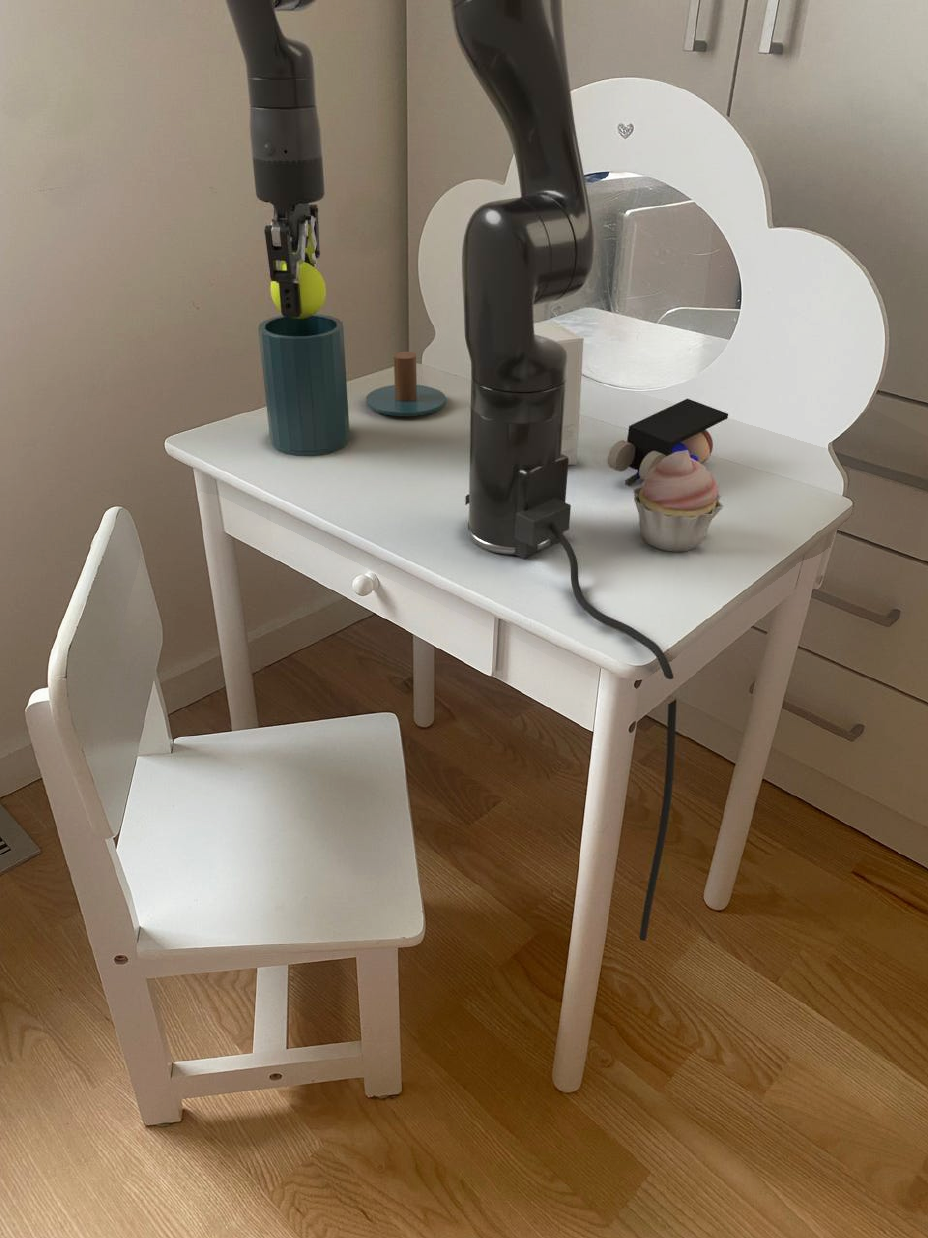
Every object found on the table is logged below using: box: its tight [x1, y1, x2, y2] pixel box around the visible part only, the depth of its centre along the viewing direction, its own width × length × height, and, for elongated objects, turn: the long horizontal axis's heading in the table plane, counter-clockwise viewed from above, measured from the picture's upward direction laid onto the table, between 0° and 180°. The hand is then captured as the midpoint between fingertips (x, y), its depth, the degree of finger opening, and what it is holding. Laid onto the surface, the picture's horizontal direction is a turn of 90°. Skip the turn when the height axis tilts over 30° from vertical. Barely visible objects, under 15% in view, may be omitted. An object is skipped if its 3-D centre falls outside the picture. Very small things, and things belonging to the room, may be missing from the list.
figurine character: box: [607, 398, 729, 486], centre depth 113 cm, size 7×8×15 cm
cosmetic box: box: [534, 320, 585, 466], centre depth 115 cm, size 8×7×16 cm
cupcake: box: [632, 450, 725, 553], centre depth 99 cm, size 9×9×10 cm
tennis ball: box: [270, 262, 327, 319], centre depth 112 cm, size 6×6×6 cm
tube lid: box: [365, 351, 447, 417], centre depth 131 cm, size 11×11×7 cm
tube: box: [257, 313, 351, 457], centre depth 118 cm, size 10×10×15 cm
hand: (299, 307), depth 113 cm, fingers closed on tennis ball, 6 cm apart
